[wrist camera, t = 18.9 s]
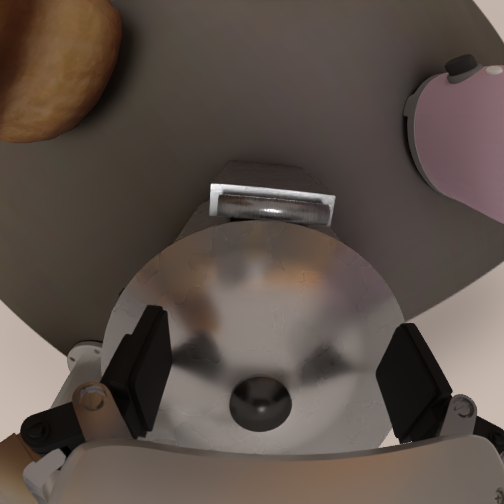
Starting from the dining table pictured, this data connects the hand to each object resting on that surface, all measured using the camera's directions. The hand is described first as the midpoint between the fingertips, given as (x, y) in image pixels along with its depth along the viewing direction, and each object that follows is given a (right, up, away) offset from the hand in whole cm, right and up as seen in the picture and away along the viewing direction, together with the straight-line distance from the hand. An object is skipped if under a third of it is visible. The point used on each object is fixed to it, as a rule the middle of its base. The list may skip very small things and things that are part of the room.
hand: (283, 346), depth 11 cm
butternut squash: (-17, +21, +8) cm, 28 cm away
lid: (-1, -2, +2) cm, 3 cm away
